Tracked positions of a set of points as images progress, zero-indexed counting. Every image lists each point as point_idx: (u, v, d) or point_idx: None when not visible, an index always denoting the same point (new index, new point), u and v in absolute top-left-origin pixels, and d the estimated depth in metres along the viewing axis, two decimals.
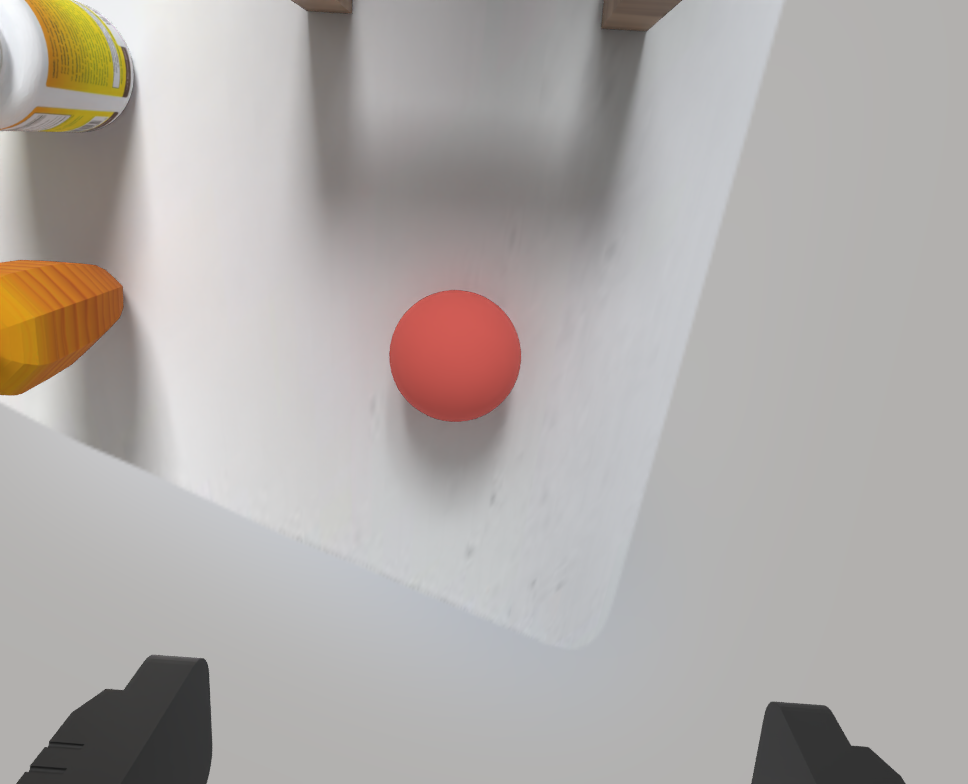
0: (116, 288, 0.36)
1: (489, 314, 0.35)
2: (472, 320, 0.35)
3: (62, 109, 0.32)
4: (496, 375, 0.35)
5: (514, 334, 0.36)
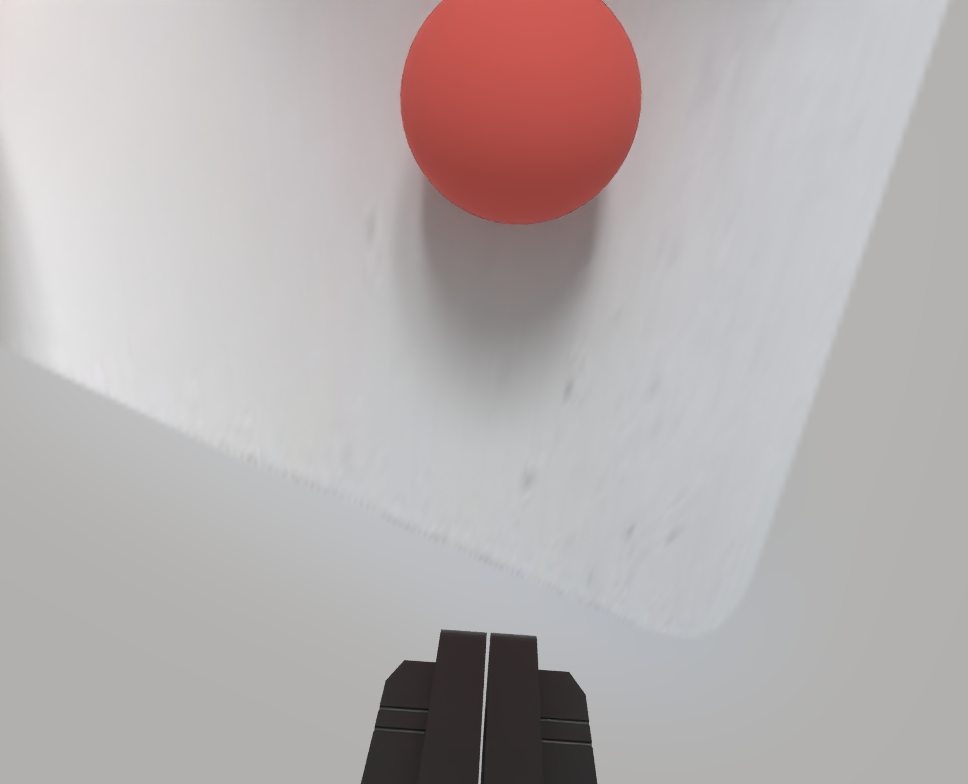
0: None
1: None
2: None
3: None
4: (606, 110, 0.18)
5: None
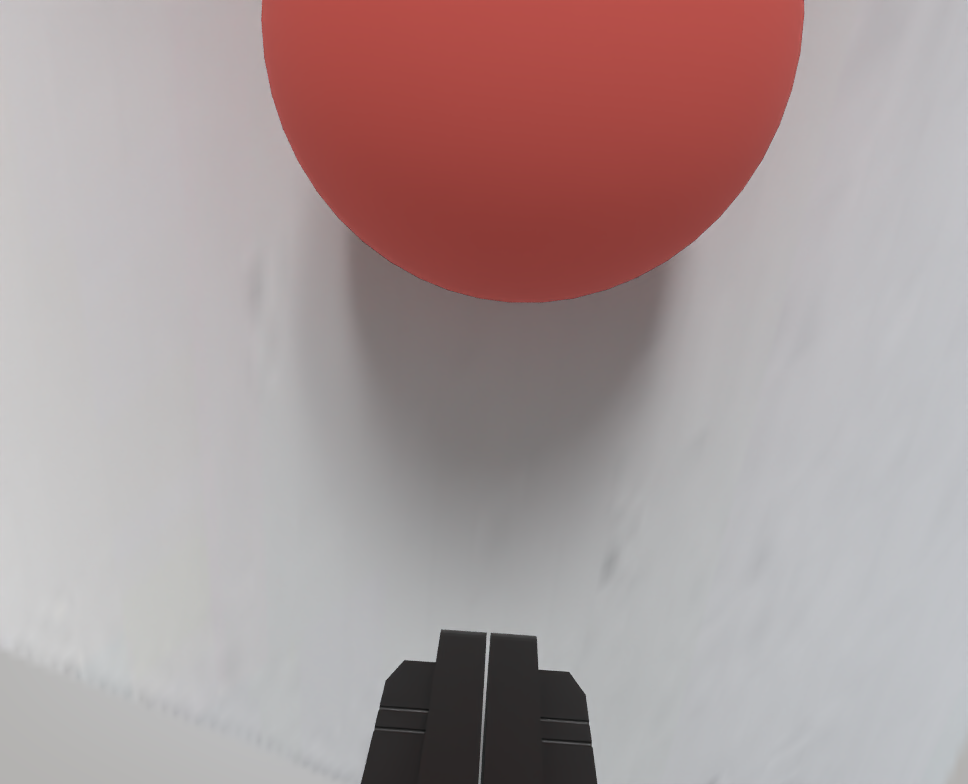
0: None
1: None
2: None
3: None
4: (745, 47, 0.07)
5: None
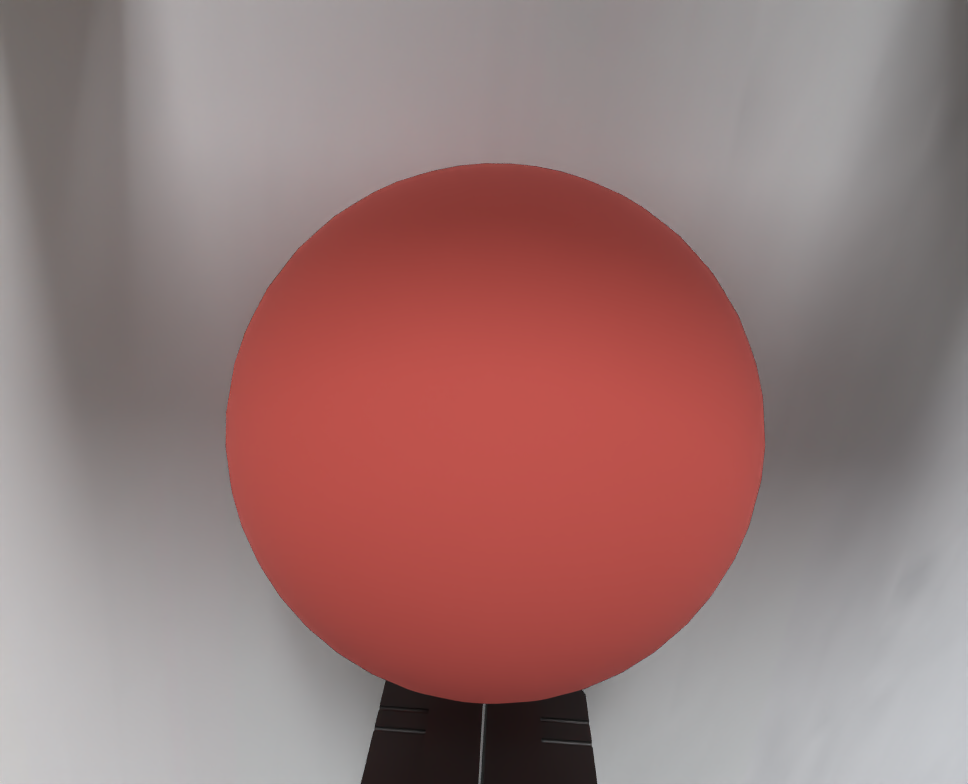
0: None
1: None
2: None
3: None
4: None
5: None
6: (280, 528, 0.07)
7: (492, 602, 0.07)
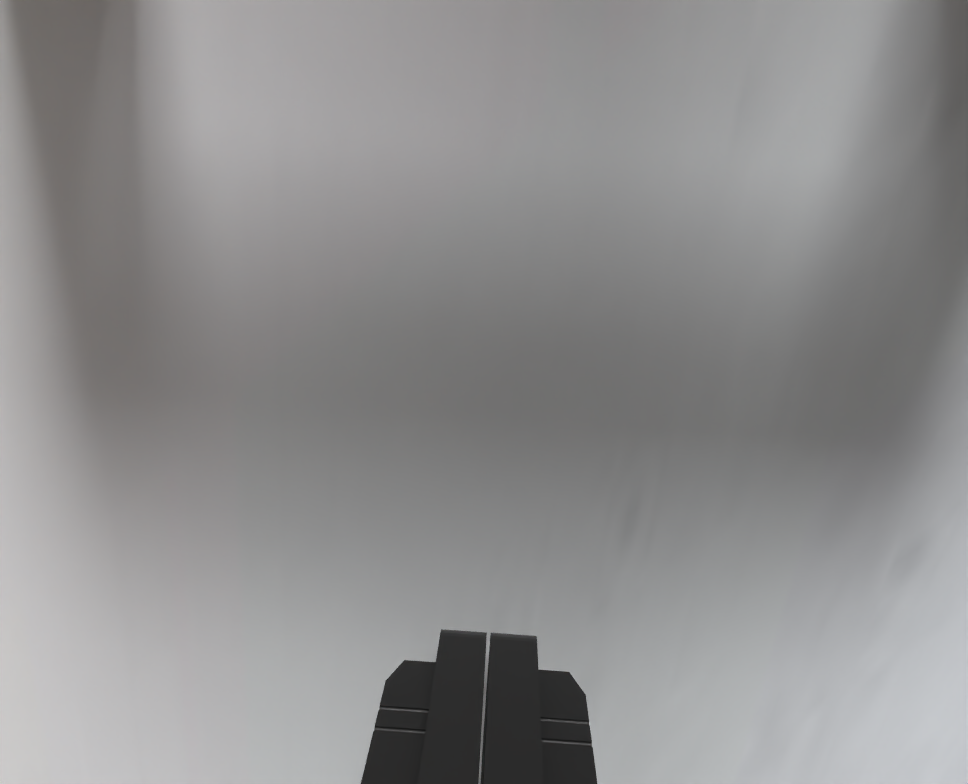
0: None
1: None
2: None
3: None
4: None
5: None
6: None
7: None
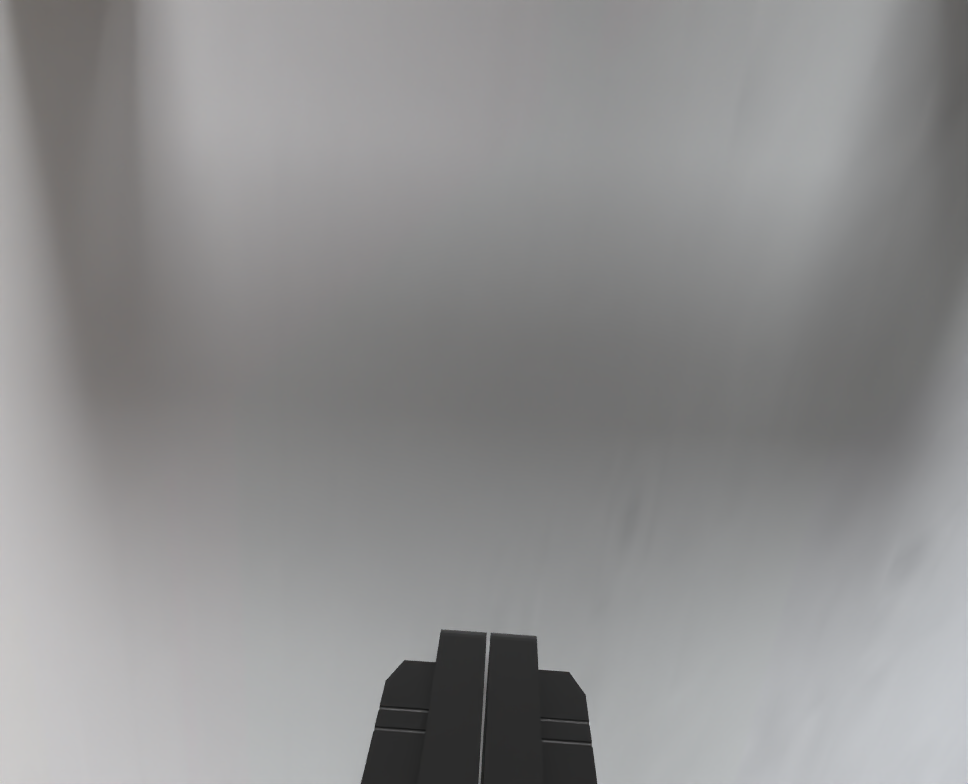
0: None
1: None
2: None
3: None
4: None
5: None
6: None
7: None
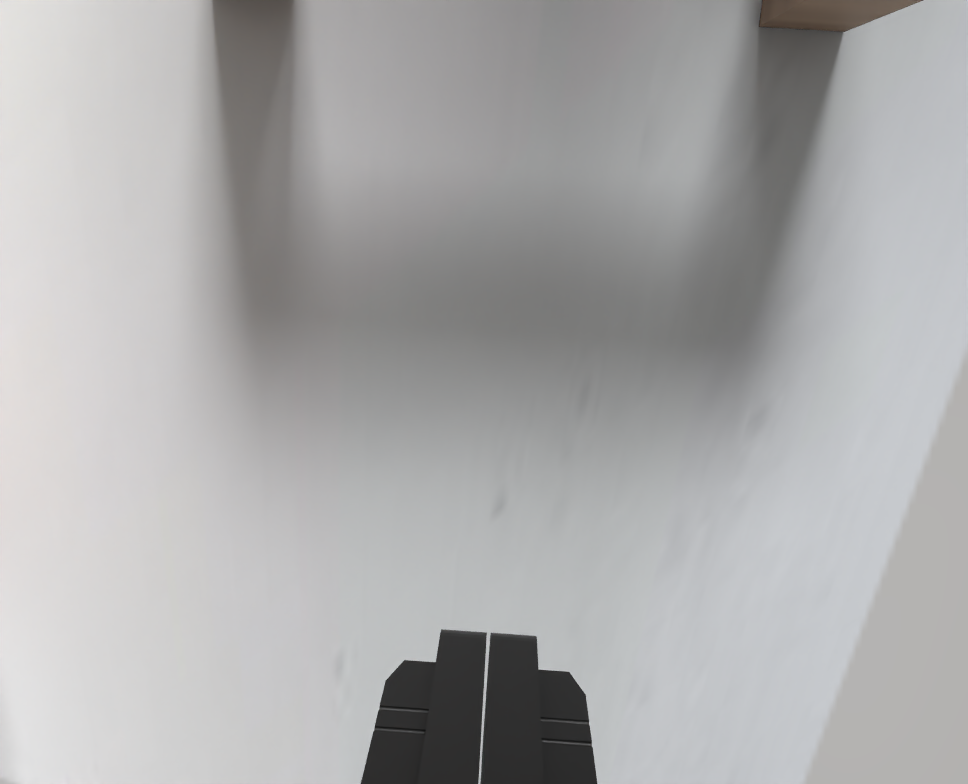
0: None
1: None
2: None
3: None
4: None
5: None
6: None
7: None
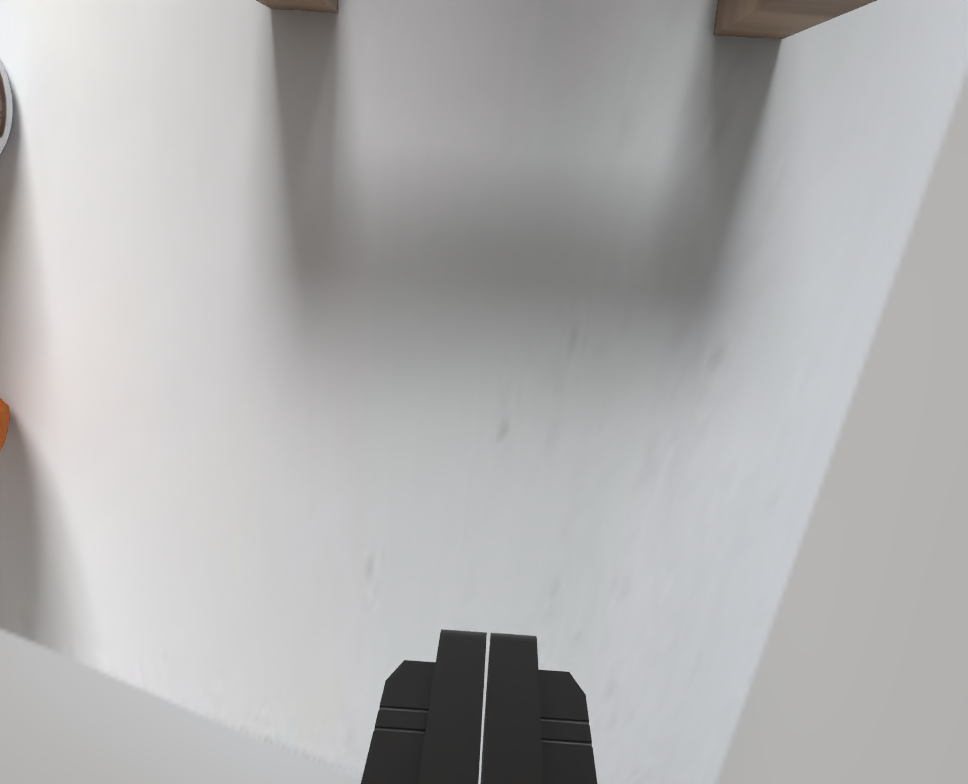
0: None
1: None
2: None
3: None
4: None
5: None
6: None
7: None
